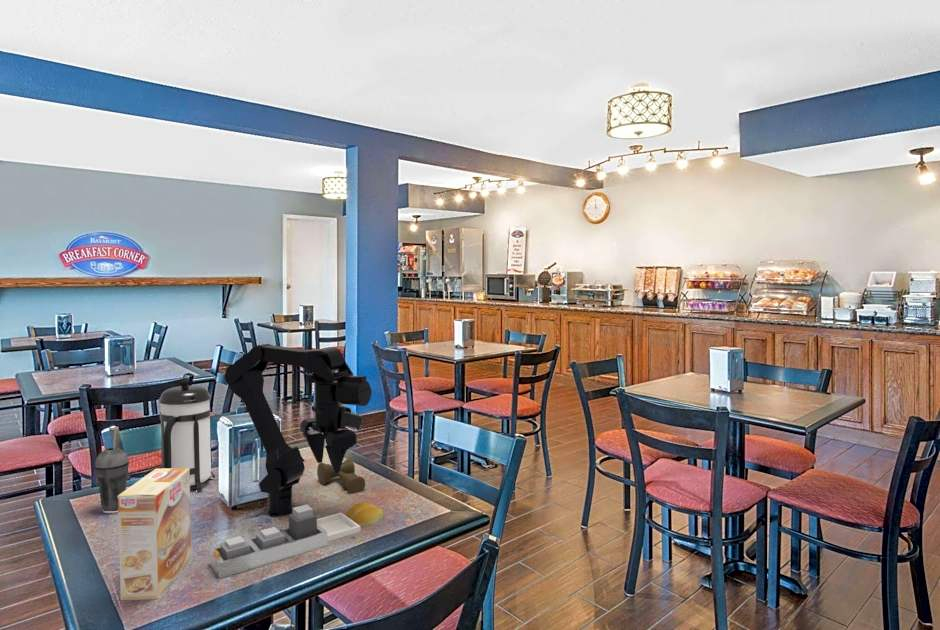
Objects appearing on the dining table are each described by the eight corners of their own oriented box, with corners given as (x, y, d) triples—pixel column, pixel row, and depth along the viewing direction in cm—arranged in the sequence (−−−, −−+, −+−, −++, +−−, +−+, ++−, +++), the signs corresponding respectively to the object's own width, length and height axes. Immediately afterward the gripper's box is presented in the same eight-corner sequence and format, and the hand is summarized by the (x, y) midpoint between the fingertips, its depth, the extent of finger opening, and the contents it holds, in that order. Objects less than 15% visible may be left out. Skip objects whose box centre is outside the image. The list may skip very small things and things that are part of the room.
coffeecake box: (160, 601, 103) (157, 494, 101) (118, 603, 102) (114, 495, 101) (193, 560, 118) (191, 466, 116) (157, 561, 117) (154, 467, 116)
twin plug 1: (220, 564, 115) (220, 539, 115) (243, 557, 118) (242, 533, 118) (227, 572, 112) (226, 547, 111) (250, 566, 115) (250, 541, 114)
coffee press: (144, 486, 158) (141, 378, 156) (204, 472, 170) (202, 371, 168) (166, 504, 146) (163, 387, 144) (229, 488, 158) (227, 379, 156)
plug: (289, 544, 124) (288, 507, 123) (308, 538, 127) (308, 502, 126) (297, 551, 121) (296, 514, 120) (317, 545, 123) (316, 509, 123)
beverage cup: (88, 513, 140) (86, 432, 139) (117, 502, 147) (114, 425, 146) (109, 518, 137) (106, 435, 136) (137, 507, 144) (135, 428, 143)
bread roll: (360, 532, 131) (360, 515, 131) (341, 520, 138) (341, 503, 138) (391, 522, 137) (391, 506, 137) (371, 511, 144) (371, 495, 143)
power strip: (209, 566, 115) (209, 546, 115) (313, 536, 129) (313, 518, 129) (219, 581, 110) (219, 560, 109) (327, 547, 123) (327, 529, 123)
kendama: (340, 501, 151) (311, 477, 167) (373, 494, 157) (342, 471, 173) (341, 478, 150) (311, 457, 166) (374, 472, 156) (342, 452, 172)
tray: (302, 530, 132) (302, 522, 132) (341, 519, 138) (341, 512, 138) (320, 546, 124) (320, 537, 124) (360, 534, 130) (360, 526, 130)
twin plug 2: (256, 553, 120) (255, 530, 119) (277, 547, 122) (276, 524, 122) (263, 562, 116) (263, 537, 116) (284, 555, 119) (284, 531, 119)
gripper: (377, 404, 133) (377, 471, 134) (341, 391, 147) (341, 451, 148) (332, 411, 126) (333, 481, 127) (298, 397, 140) (299, 460, 141)
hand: (328, 467), depth 136 cm, fingers open, 9 cm apart
